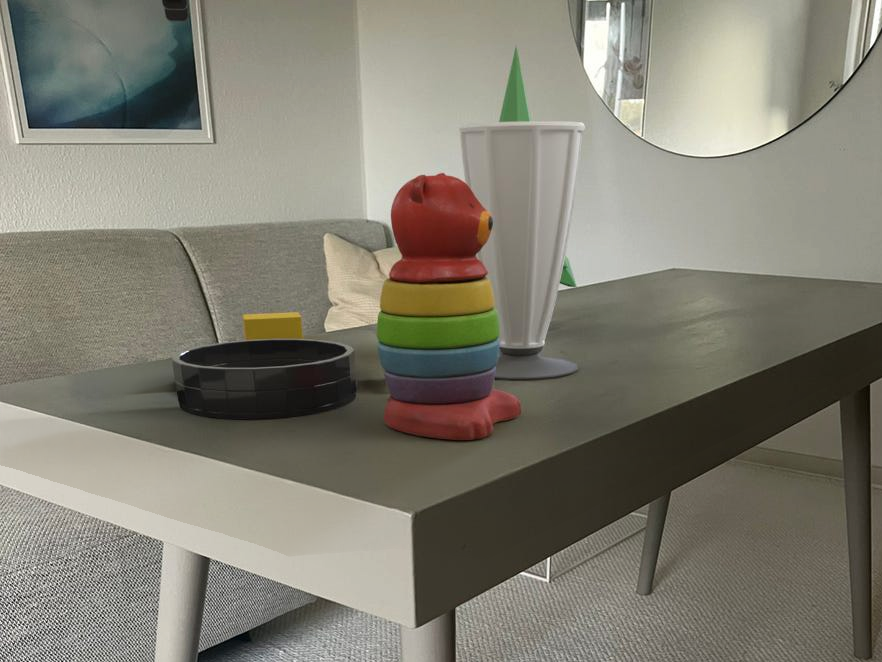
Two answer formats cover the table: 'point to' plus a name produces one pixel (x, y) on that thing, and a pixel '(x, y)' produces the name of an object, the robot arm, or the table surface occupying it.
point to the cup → (524, 230)
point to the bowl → (265, 378)
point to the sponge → (273, 326)
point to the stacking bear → (441, 316)
